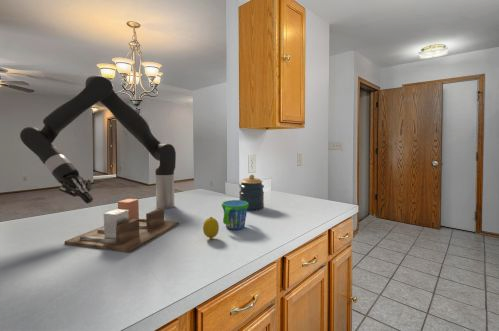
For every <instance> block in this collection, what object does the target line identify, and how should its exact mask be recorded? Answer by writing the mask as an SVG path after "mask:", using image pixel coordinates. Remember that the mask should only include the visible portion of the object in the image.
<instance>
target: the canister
mask: <svg viewBox="0 0 499 331" xmlns="http://www.w3.org/2000/svg"><path fill="white" fill-rule="evenodd" d="M240 183H241V184H239V186H238V187H239V191H238V193H239V196H238V198H239V199H238V200H241V201H246V202H248V203H249V206H248V208H247V212H256V211H261V210H264V206H265V203H264V202H265V200H264V198H265V196H264V193H265V192H264V187H265V185H264V184H263V180H261V179H260V178H255V176H254V174H250V175H249V176H248V177H246V178H243V179H242V180H240Z"/></svg>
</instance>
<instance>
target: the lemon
mask: <svg viewBox="0 0 499 331" xmlns="http://www.w3.org/2000/svg"><path fill="white" fill-rule="evenodd" d="M219 226H220V224H219V222H218V220H217V219H216V218H214V217H212V216H210V217H209V218H206V219H205V221H204V223H203V226H202V230H203V234H204V235H205V237H207V238H209V239H210V240H211V239H213V238H215V237H216V236H217V235H218V233H219V230H220V227H219Z"/></svg>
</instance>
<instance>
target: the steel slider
mask: <svg viewBox="0 0 499 331" xmlns="http://www.w3.org/2000/svg"><path fill="white" fill-rule="evenodd" d="M127 221H129V210H121V209H118V208H116V209H112V210H110V211H107V212H104V213H103V226H104V235H105V238H108V239H116V226H117V225H120V224H122V223H125V222H127Z"/></svg>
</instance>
